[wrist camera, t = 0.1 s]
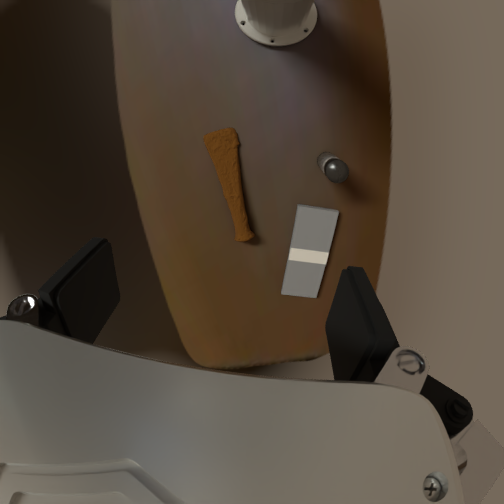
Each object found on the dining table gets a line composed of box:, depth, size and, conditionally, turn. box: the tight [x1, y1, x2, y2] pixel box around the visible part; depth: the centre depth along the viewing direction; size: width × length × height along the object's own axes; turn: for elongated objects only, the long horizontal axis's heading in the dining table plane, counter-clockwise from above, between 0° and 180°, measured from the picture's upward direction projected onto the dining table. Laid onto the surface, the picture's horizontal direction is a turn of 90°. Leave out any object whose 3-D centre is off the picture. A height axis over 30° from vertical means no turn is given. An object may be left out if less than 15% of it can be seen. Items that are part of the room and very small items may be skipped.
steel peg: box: [317, 152, 349, 183], centre depth 39 cm, size 3×3×8 cm
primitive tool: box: [204, 128, 255, 242], centre depth 45 cm, size 19×6×4 cm, turn 15°
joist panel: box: [281, 204, 339, 298], centre depth 51 cm, size 18×7×1 cm, turn 174°
